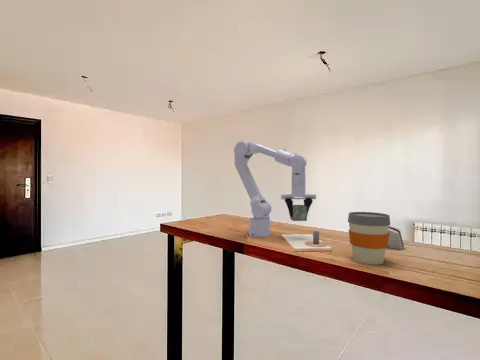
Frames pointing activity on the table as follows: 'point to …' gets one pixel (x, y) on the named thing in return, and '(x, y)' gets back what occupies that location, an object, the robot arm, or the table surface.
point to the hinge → (395, 238)
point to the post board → (306, 241)
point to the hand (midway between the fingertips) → (298, 216)
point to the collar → (299, 213)
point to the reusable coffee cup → (368, 236)
